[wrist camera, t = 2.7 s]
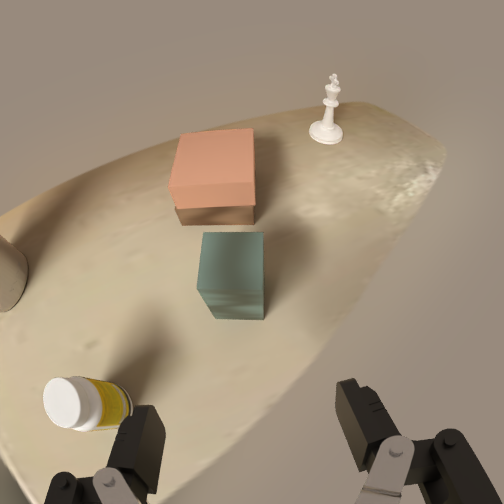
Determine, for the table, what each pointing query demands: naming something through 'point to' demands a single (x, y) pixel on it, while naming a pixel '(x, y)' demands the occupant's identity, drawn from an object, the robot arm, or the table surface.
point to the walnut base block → (217, 215)
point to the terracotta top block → (214, 169)
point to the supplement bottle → (86, 403)
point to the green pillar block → (232, 274)
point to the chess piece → (328, 117)
